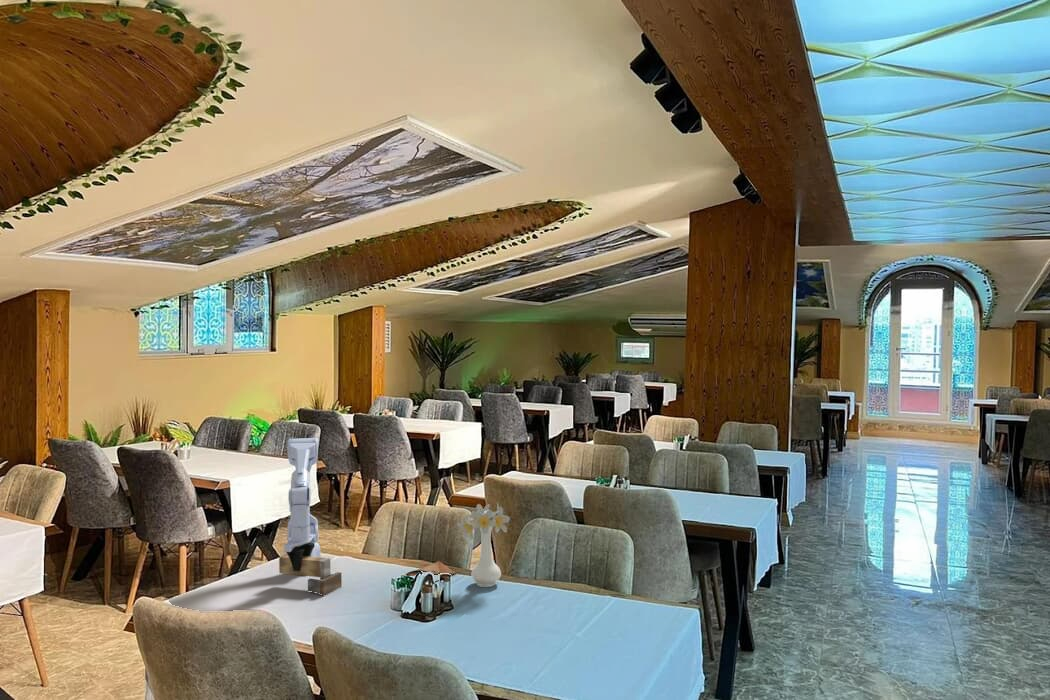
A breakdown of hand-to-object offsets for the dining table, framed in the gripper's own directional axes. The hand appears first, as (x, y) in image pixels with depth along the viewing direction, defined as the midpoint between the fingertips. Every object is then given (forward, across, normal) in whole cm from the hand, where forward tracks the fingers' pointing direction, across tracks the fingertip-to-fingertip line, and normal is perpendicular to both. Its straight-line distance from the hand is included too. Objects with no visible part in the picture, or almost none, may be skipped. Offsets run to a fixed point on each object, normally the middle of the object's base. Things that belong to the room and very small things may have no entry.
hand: (300, 568), depth 253 cm
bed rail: (+1, 0, +2) cm, 2 cm away
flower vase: (+6, -19, +55) cm, 58 cm away
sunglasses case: (+6, -20, +36) cm, 41 cm away
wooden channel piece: (+6, +1, +8) cm, 10 cm away
